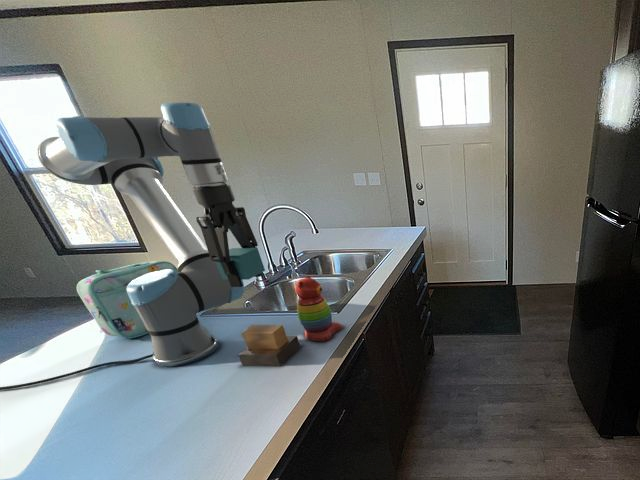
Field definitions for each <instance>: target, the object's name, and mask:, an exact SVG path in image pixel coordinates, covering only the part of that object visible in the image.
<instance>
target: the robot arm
mask: <svg viewBox="0 0 640 480" xmlns="http://www.w3.org/2000/svg"><path fill="white" fill-rule="evenodd" d="M160 111H161V114H162V116H138V117H137V116H135V117H134V116H131V117H129V116H126V117H124V116H123V117H122V116H121V117H109V116H108V117H105V116H104V117H101V116H100V117H97V116H93V117H92V116H81V115H80V116H79V115H78V116H77V115H76V116H71V117H60V118H58V119H57V120H56V123H55V124H56V130H57V133H58V135H59V136H52V137H48V138H46V139H44V140H43V141H41V142H40V143H39V145H38V147H37V149H36V151H37V152H36V153H37V158H38V161H39V163H40V164H41V165H42V167H43V168H44V169H45V170H46V171H48V172H49V173H50V174H51V175H53V176H54V177H56V178H58V179H60V180H63V181H65V182H68V183H72V184H78V185H84V186H99V185H109V184H110V185H113V186H114V188H115V189H116V190H117V191H118V192H119V193H121V194H123V195H126V196H128V197H129V198H130V199H131V200H132V202H133V203H134V204H135V206H136V207H137V209H138V210H139V211H140V213H141V214H142V216H143V217H144V219H146V221H147V222H148V224H149V225H150V226H151V228H152V229H153V231H154V232H155V233H156V235H157V236H158V237H159V239H160V240H161V241H162V243H163V244H164V246H165V247H166V248H167V249H168V251H169V252H170V254H171V255H172V256H173V258H174V259H175V260H176V262H177V264H178V265H177V266H176V268H177V271H178V273H177V272H175V271H174V270H171V269H165V270H160V271H155V272H151V273H148V274H145V275H143V276H141V277H138V278H136V279H135V280H133V281H132V282H130V283H129V284H128V286H127V293H128V295H129V298H130V300H131V304H132V305H133V306H134V307H135V309H136V310H137V312H138V314H139V316H140V318H141V319H142V321H143V323H144V325H145V327H146V328H147V330H148V332H149V333H148V334H149V335H150V338H151V344H152V350H153V352H152V353H151V354H147V355H145V356H141V357H139V358H134V359H129V360H118V361H117V360H116V361H108V362H103V363H99V364H96V365H92V366H91V365H90V366H88V367H86V368H81V369H78V370H75V371H72V372H68V373H65V374H60V375H57V376H53V377H48V378H45V379H41V380H36V381H30V382H26V383H20V384H14V385H7V386H0V391H2V390H11V389H17V388H24V387H29V386H34V385H40V384H43V383H47V382H52V381H55V380H59V379H63V378H66V377H67V378H68V377H71V376H74V375H78V374H80V373H84V372H87V371H91V370H94V369H97V368H101V367H105V366H110V365H119V364H121V365H122V364H132V363H137V362H141V361H143V360H146V359H149V358H153V360H154V361H155V363H156V364H157V366H161V367H179V366H184V365H187V364H192V363H194V362H196V361H199V360H202V359H204V358H206V357H208V356H209V355H211V354H213V353H214V352H215V351H216V350H217V349H218V346H219V344H218V341H217V339H216V337H214V336H213V335H212V334H211V333H210V332H209V331H208V330H207V329H206V328H205V327H204V326H203V325H202V324H201V322H200V320H199V318H198V316H197V314H199V313H201V312H205V311H208V310H211V309H213V308H217V307H219V306H223V305H226V304H230V303H232V302H234V301H237V300H239V299H241V298H242V297H243V296H244V295H245V294H244V293H245V284H244V280H241V279H240V277H239V274H238V271H237V269H236V266H235V263H234V261H233V260H230V255H229V249H230V248H229V239H228V233H229V231H230V232H231V234H232V235H233V237H234V238H235V240H236V241H237V243H238V245H239V246H240V248H258V246H259V243H258V241H257V239H256V237H255V234H254V232H253V230H252V227H251V225H250V223H249V220H248V218H247V214H246V209H245V207H243V206H237V207H236V206H235V205H234V203H233V202H235V200H236V198H235V195H234V192H233V189H232V187H231V186H232V185H230V184H229V183H228V181H229V178H228V176H227V173H226V170H225V168H224V164H223V161H222V159H221V155H220V153H219V149H218V147H217V144H216V141H215V138H214V135H213V132H212V129H211V124H210V122H209V121H208V117H207V116H206V114H205V112H204V108H203V107H202V106H201V105H200V104H198V103H196V102H164V103H161V105H160ZM161 157H162V158H163V157H179V159H180V161H181V164H182V166H183V169H184V172H185V175H186V177H187V179H188V181H189V184H190V185H192V192H193V195H194V197H195V199H196V202H197V203H198V204H199V205H200V206H202V207H203V213H204V214H203V215H202V216H197V217H196V218H195V221H196V223H197V225H198V226H199V227H200V230H201V233H202V236H203V240H204V242H203V240H202V239H201V238H200V236H199V235H198V233H197V232H196V230H195V229H194V228H193V227H192V225H191V224H190V222H189V221H188V220H187V218H186V217H185V216H184V214H183V213H182V211H181V210H180V208H179V207H178V206H177V204H176V203H175V201H174V200H173V199H172V197H171V196H170V195H169V193H168V192H167V191H166V189H165V188H164V186H163V182H164V179H163V178H164V167H163V165H162V162H161V161H160V159H159V158H161ZM223 255H224V256H223ZM216 262H220V263H221V266H222V268H223V271H224V273H225V275H227V277H228V280H223V278H222V276H221V273H220V271H219V268H218V266H217V263H216ZM257 277H258V278H260V277H262V273H260V274H258V275H256V276H254V277H253V278H257Z"/></svg>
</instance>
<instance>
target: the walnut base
mask: <svg viewBox="0 0 640 480" xmlns="http://www.w3.org/2000/svg"><path fill="white" fill-rule="evenodd" d="M286 336H287V339H288V341H287V342H286V343H285V344H284V345H283V346H282V347H281V348H280V349H248V348H247V347H245V348H244V349H243V350H242V351H240V352H239V353H238V354H237V356H238V358H239V360H240V363H241V365H242V367H243V366H244V367H281V366H282V365H283V364H284V363H285V362H286V361H287V360H288V359H290V357H291V356H292V355H293V354H295V352H297V351H298V349H300V348H301V343H300V341H299V338H298V335H286Z"/></svg>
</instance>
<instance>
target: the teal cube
mask: <svg viewBox="0 0 640 480" xmlns="http://www.w3.org/2000/svg"><path fill="white" fill-rule="evenodd" d="M229 255H230V260H233V261H234V263H235V266H236V269H237V271H238V274H239V277H240V279H241V280H243V281H244V280H250V279H252V278H255V277H254V276H256V275H258V274H260V273H261V274H262V273H263V272H265V271H266V270H265V266H264V263H263V261H262V257H261V255H260V251H259V249H258V247H257V248H242V247H232V248H229ZM223 256H224V255H223ZM216 263H217V266H218V268H219V271H220V273H221V276H222V278H223V280H228V277H227V275H225V273H224V271H223V268H222V266H221V263H220V262H216Z"/></svg>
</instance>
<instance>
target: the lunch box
mask: <svg viewBox="0 0 640 480" xmlns="http://www.w3.org/2000/svg"><path fill="white" fill-rule="evenodd" d="M165 269H171V270H174V271H175V272H177V273H178V271H177V266H176V265H174V264H173V263H172V262H170V261H167V260H159V261H157V260H156V261H151V260H150V261H143V262H138V263H134V264H129V265H124V266H120V267H116V268H112V269H109V270H105V269H99V270H98V269H97V270H95V274H92V275H88V276H87V277H85V278H83V279H81V280H79V282H78V283H77V284H76V292H77V294H78V296H79V298H80V299H81V301H82V302H83V304H84V306H85V307H86V309H87V311H88V312H89V313H90V315H91V316H92V317H93V319H94V321H95V322H96V324H97V325H98V327H99V328H100V330H101V331H102V332H103V333H105V334H106V335H107V336H110V337H118V338H119V337H121V338H124V339H134V338H138V337H143V336H145V335H148V334H149V332H148V330H147V328H146V327H145V325H144V323H143V321H142V319H141V318H140V316H139V314H138V312H137V310H136V309H135V307H134V306H133V305H132V304H131V300H130V298H129V295H128V293H127V286H128V284H129V283H130V282H132V281H133V280H135V279H136V278H138V277H141V276H143V275H145V274H148V273H151V272H155V271H160V270H165Z"/></svg>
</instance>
